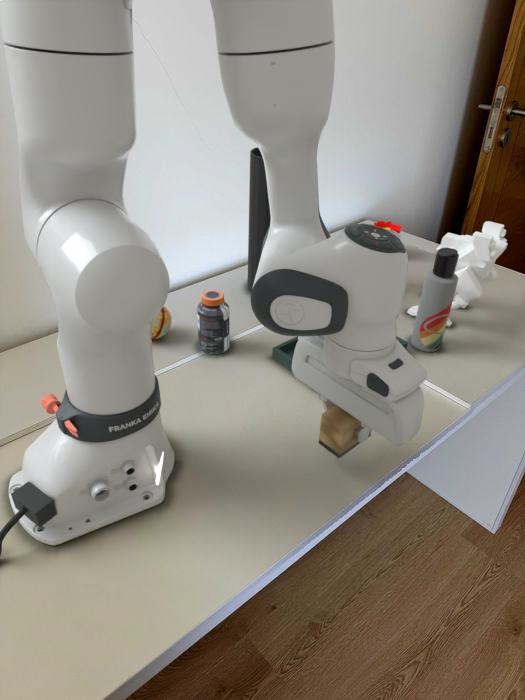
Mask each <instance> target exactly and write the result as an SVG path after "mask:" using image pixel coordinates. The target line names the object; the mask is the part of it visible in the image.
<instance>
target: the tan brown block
mask: <svg viewBox="0 0 525 700" xmlns="http://www.w3.org/2000/svg"><path fill="white" fill-rule="evenodd" d="M360 425H361V421H359V420H358V419H356V418H355V417H353V416H352V415H350V414H349V413H347V412H346V411H344V410H343V409H341V408H340V407H338V406H337V405H335V406H333V407H332V408H330V409H329V410H327V411H325V410H324V412H322V413H321V419H320V427H319V434H318V444H319V445H320V446H321V447H322V448H324V449H325V450H327V452H329V453H331V454H332V455H333V456H335V457H336V458H338V459H341V458H343V456H345V455H346V454H348V453H349V452H351V451H352V450H353V449H355V448H356V447H357V446H359V445H360V444H361V443H359V442H358V441H356V440H355V439H354V438H353V432H354V430H355V429H356V428H358V427H359V426H360ZM371 435H372V429H371V430H370V431H369V436H368V438H370V437H371Z"/></svg>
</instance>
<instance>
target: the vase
mask: <svg viewBox="0 0 525 700" xmlns="http://www.w3.org/2000/svg"><path fill="white" fill-rule="evenodd" d="M248 194H249V196H248V198H249V199H248V200H249V201H248V239H247V241H248V244H247V290H248V291H249V293H251V292H252V288H253V284H254V280H255V277H256V273H257V269H258V266H259V262H260V258H261V250H262V245H263V241H264V238H265V236H266V233H267V231H268V228H269V226H270V219H271V215H270V206H269V198H268V189H267V180H266V171H265V165H264V160H263V157H262V154H261V152H260V150H259V148H258V146H257V147H254V148H252V149H250V151H249V193H248Z"/></svg>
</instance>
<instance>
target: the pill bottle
mask: <svg viewBox="0 0 525 700" xmlns="http://www.w3.org/2000/svg"><path fill="white" fill-rule="evenodd" d="M196 318H197V321H196V322H197V343H198V344H197V345H198V348H199V349H200V351H201V352H203V353H206V354H209V355H218V354H222V353H225V352H226V351H227V350H228V349H229V348H230V346H231V345H230V344H231V342H230V337H231V336H230V305H229V304H228V303H227V302H226V301H225V294H224V293H223V291H222V290H221V291H220V290H218V289H208V290H205V291H204V292H203V293H202V294H201V301H200V302H199V303H198V305H197V307H196Z"/></svg>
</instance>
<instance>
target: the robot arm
mask: <svg viewBox="0 0 525 700" xmlns="http://www.w3.org/2000/svg"><path fill="white" fill-rule="evenodd" d="M209 3H210V6H211V7H210V8H211V10H212V17H213V22H214V30H215V38H216V39H215V40H216V49H217V58H218V65H219V66H218V67H219V73H220V78H221V84H222V89H223V92H224V97H225V100H226V103H227V107H228V110H229V113H230V117H231V120H232V123H233V125H234V127H235V128H236V129H237V130H238V131H239V133H240V134H242V135H243V136H244V137H245V138H247V139H248V140H250V141H252V142H253V143H254V144H255V145H256V146H257V147H258V148H259V150H260V152H261V154H262V157H263V160H264V165H265V171H266V180H267V189H268V198H269V206H270V215H271V219H270V226H269V228H268V231H267V233H266V236H265V238H264V241H263V245H262V250H261V258H260V262H259V266H258V269H257V273H256V277H255V280H254V284H253V288H252V292H250V306H251V310H252V313H253V314H254V316H255V318H256V319H257V320H258V322H259V323H260V324H261V325H262V326H263V327H265V328H266V329H267V330H269V331H271V332H273V333H275V334H277V335H281V336H286V337H297V336H298V342H297V344H296V347H295V351H294V355H293V360H292V371H293V372H292V371H291V372H292V375H293V376H294V377H295V379H297V380H299V381H300V382H301V383H303V384H305V385H306V386H307V387H309V388H311V389H312V391H315V393H317V394H319V399H320V401H321V404H322V406H323V409H324V412H325V411H327V410H329V409H330V408H332V407H333V406H335V405H337V406H338V407H340V408H341V409H343V410H344V411H346V412H347V413H349V414H350V415H352V416H353V417H355V418H356V419H358V420H359V421H361V425H360V426H359V427H358V428H356V429H355V430H354V432H353V438H354V439H355V440H356V441H358V442H359V443H360V444H363V443H365V442H366V441H367V440H368V439H369V437H368V436H369V431H370V430H371V429H372V430H373V431H374V432H375V433H377V434H378V435H379V436H381V437H382V438H384V439H386V440H387V441H389V442H390V443H392V444H393V445H394V446H396V447H398V446H399V447H400V446H403V445H406V444H407V443H409V442H410V441H412V440H413V439H414V438H415V437H416V436H417V435H418V434H419V432H420V429H421V425H422V420H423V414H424V407H425V395H424V392H423V389H422V388H421V387H420V386H421V385H422V384H423V383H424V382H425V381H426V379H427V375H428V372H427V371H428V370H427V369H426V368H425V366H423V365H422V364H421V363H420V362H419V361H418V360H417V359H416V358H415V357H414V356H413V355H412V354H411V353H410V352H409V351H408V349H407V350H406V349H405V348H404V347H403V346H402V345H401V343H400V342H399V341H398V340H397V339H396V336H397V337H398V331H397V330H398V329H397V319H398V317H399V315H400V313H401V311H402V310H403V305H404V300H405V294H406V288H407V281H408V270H409V258H408V252H407V249H406V246H405V245H404V243H403V241H400V240H401V238H400V239H399V238H398V237H397V236H396V235H394V234H392V233H391V232H389V231H388V230H386V229H384V228H381V227H378V226H375V225H374V224H371V223H351V224H348V225H347V226H346V225H345V227H344V228H343V229H342V230H341V231H339V232H337V233H335V234H334V235H332V236H331V234H330V232H329V231H328V228H327V227H326V225H325V223H324V221H323V219H322V216H321V212H320V200H319V199H320V198H319V197H320V196H319V177H318V176H319V175H318V149H319V143H320V139H321V135H322V132H323V131H324V128H325V126H326V124H327V123H328V119H329V115H330V110H331V104H332V99H333V91H334V82H335V81H334V80H335V71H336V70H335V69H336V68H335V67H336V65H335V64H336V40H335V39H336V28H335V10H334V9H335V8H334V7H335V6H334V0H209ZM0 29H1V35H2V36H1V37H2V42H3V50H4V56H5V61H6V68H7V69H6V70H7V76H8V82H9V87H10V95H11V101H12V106H13V108H12V109H13V114H14V120H15V128H16V135H17V144H18V145H17V146H18V172H19V175H18V176H19V192H20V205H21V214H22V224H23V225H22V226H23V233H24V238H25V242H26V244H27V245H26V246H27V247H28V249H29V251H30V253H31V254H32V255H33V257H34V259H35V260H36V262H37V264H38V265H39V268H40V269H41V271H42V273H43V275H44V277H45V279H46V282H47V284H48V286H49V288H50V291H51V292H52V296H53V300H54V304H55V309H56V317H57V327H58V328H57V329H58V337H57V340H56V348H57V353H58V357H59V362H60V366H61V371H62V376H63V378H64V384H65V385H64V386H65V391H64V395H63V398H62V400H61V401H60V400H58V398H57V396H56V395H55V394H53V393H47V394H45V395H44V396H43V397H42V398H41V400H40V405H41V407H42V408H43V409H45V411H46V413H47V414H49V415H55V419H54V420H53V422H52V423H50V424H49V426H48V427H47V428H46V429H45V430H44V431H43V432H42V433H41V434H40V435H39V436H38V437H37V438H36V439H35V440H34V441H33V442H32V443H31V444H30V445H29V446H28V447H27V448H26V449H25V451H24V453H23V457H22V465H21V466H22V467H21V470H19V471H17V472H16V473H15V474H13V475H12V476H11V478H10V481H9V484H8V498H9V502H10V506H11V510H12V511H13V512H12V513H14V516H12V517H11V519H9V520H8V521H7V522H6V524H5V525H4V526H3V527H2V528H1V530H0V556H1V555H2V552H3V541H4V539H5V538H6V536H7V534H8V533H9V532H10V530H12V528H13V527H14V526H15V525H16V524H17V523H18V522H19V524H20V525H21V527H22V528H23V529H24V530H25V531H26V533H28V535H29V536H30V537H32V538H34V539H35V540H37V541H38V542H40V543H42V544H46V545H47V546H57V545H60V544H63V543H66V542H69V541H71V540H73V539H76V538H79V537H81V536H83V535H85V534H88V533H90V532H93V531H96V530H98V529H101V528H103V527H105V526H108V525H111V524H113V523H116V522H119V521H121V520H123V519H125V518H128V517H131V516H133V515H136V514H138V513H140V512H143V511H145V510H148V509H150V508H153V507H156V506H157V505H160V504H161V503H163V501H164V500H165V498H166V484H167V481H168V480H169V477H170V476H171V474H172V473H173V469H174V466H175V459H176V458H175V451H174V448H173V446H172V445H171V443H170V441H169V439H168V436H167V434H166V431H165V428H164V424H163V420H162V416H161V412H160V410H161V408H162V407H161V406H162V397H161V391H160V390H161V389H160V384H159V380H158V377H157V375H156V373H155V364H154V356H153V355H154V353H153V343H152V341H153V340H152V339H151V333H152V323H153V319H154V318H155V317H156V315H157V314H158V313H159V312H160V310H161V309H162V307H163V306H164V307H165V304H166V303H167V299H168V296H169V293H170V285H171V284H170V275H169V270H168V268H167V265H166V263H165V261H164V259H163V256H162V254H161V252H160V251H159V248H158V247H157V244H156V243H155V241H154V240H153V239H152V237H151V236H150V235H149V234H148V233H147V232H146V231H145V230H144V229H143V228H142V227H141V225H139V224H138V223H137V222H135V221H134V220H133V218H131V216H129V213H128V210H127V207H126V205H125V198H124V189H125V188H124V187H125V180H126V174H127V173H126V172H127V166H128V161H129V157H130V154H131V152H132V151H133V150H134V148H135V146H136V144H137V138H138V125H137V124H138V123H137V122H138V121H137V100H136V97H137V96H136V78H135V77H136V75H135V54H134V53H135V52H134V50H135V49H134V34H133V31H134V29H133V0H0Z"/></svg>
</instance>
